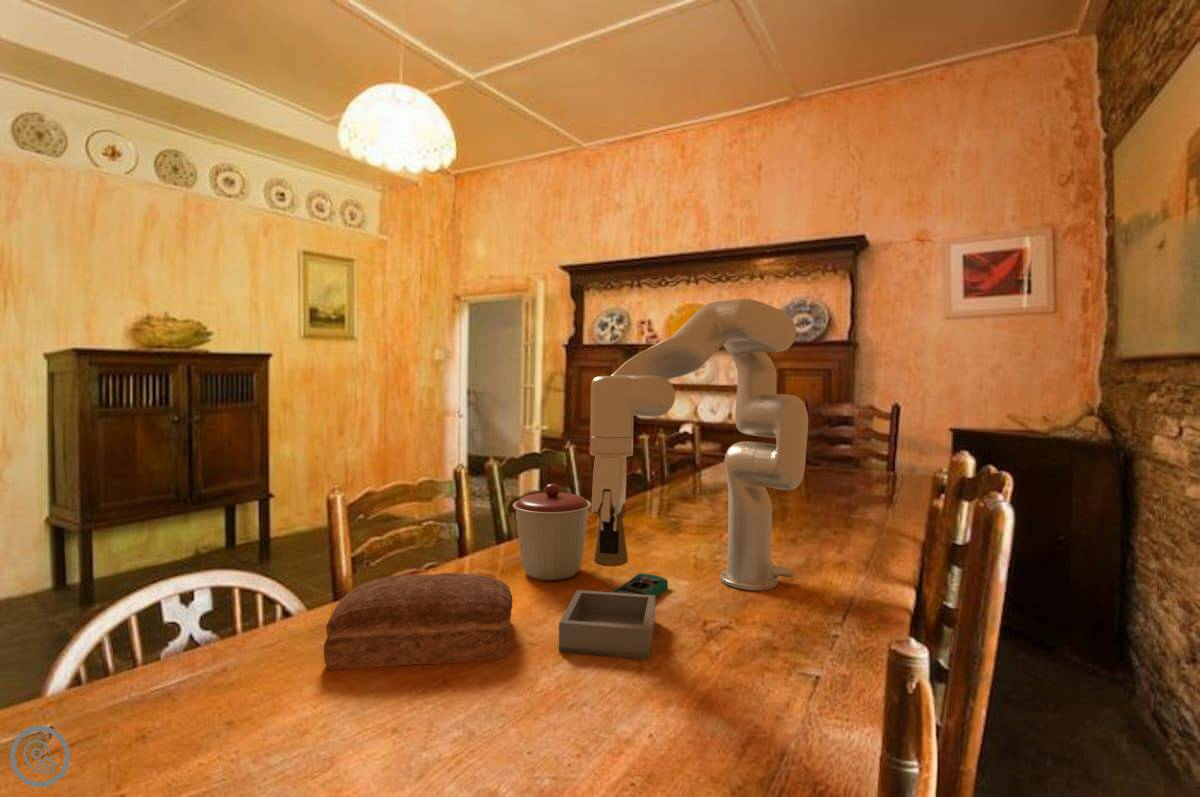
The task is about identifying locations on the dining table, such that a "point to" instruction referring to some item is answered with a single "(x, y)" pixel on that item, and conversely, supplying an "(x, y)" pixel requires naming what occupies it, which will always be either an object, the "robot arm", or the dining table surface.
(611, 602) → the gray square tray
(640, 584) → the digital multimeter
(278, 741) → the dining table surface
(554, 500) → the canister
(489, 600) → the bread
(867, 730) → the dining table surface
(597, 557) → the tan piece
